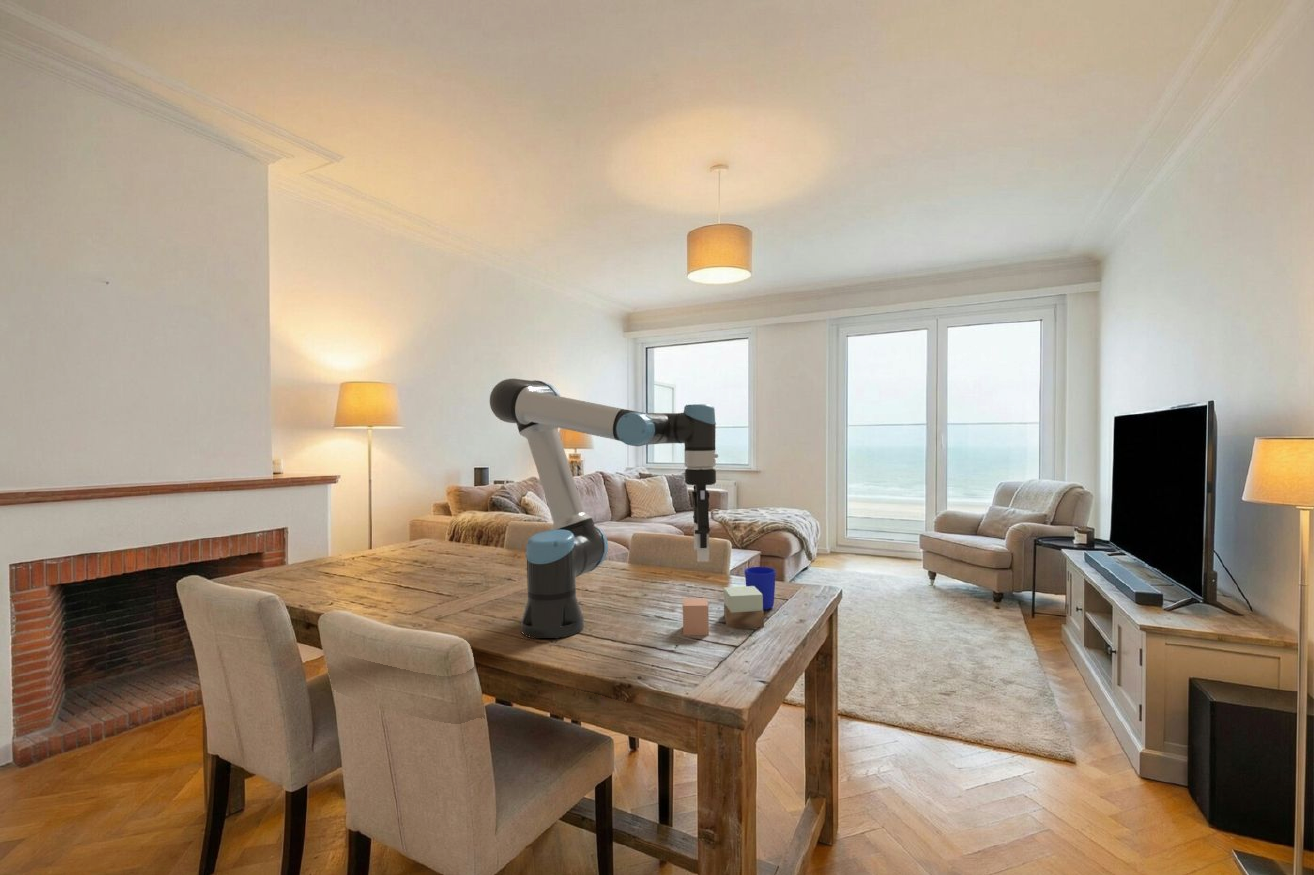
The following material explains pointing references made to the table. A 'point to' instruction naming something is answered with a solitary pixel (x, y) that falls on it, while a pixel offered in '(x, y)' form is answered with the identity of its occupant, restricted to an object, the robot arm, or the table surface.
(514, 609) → the table surface
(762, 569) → the mug
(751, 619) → the riser lower
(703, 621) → the clay block
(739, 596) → the block
